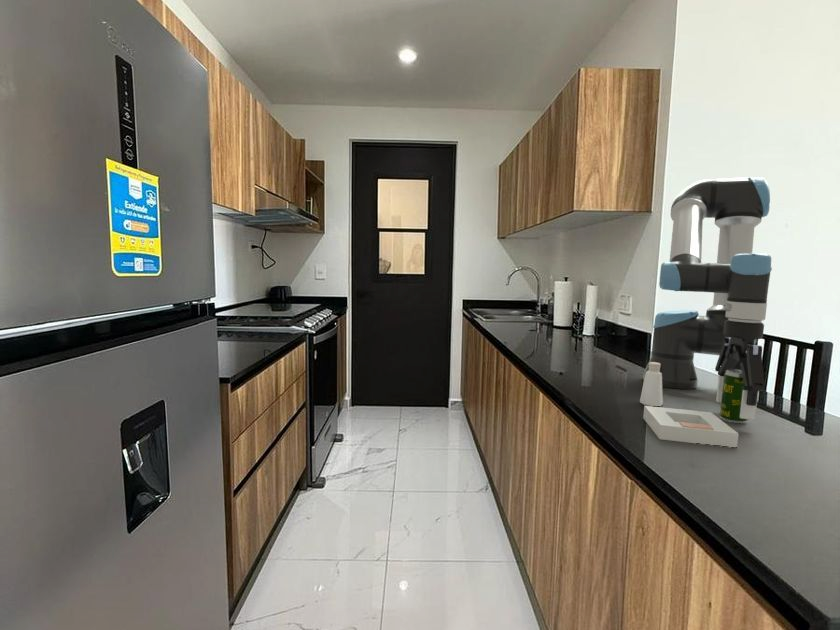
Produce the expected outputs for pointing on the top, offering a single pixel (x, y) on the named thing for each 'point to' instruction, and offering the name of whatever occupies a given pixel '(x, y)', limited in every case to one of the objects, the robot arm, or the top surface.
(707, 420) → the socket block
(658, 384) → the salt shaker
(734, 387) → the beer can
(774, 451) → the top surface
